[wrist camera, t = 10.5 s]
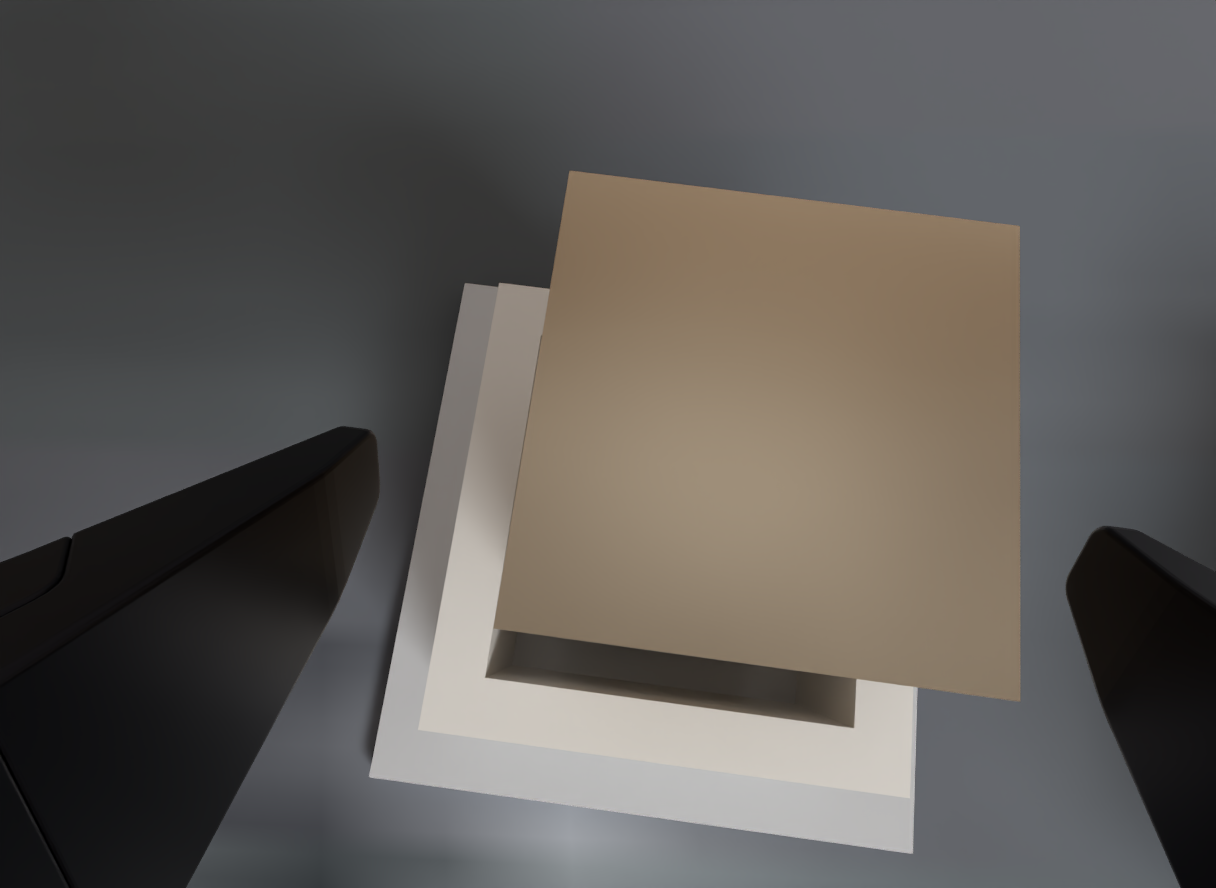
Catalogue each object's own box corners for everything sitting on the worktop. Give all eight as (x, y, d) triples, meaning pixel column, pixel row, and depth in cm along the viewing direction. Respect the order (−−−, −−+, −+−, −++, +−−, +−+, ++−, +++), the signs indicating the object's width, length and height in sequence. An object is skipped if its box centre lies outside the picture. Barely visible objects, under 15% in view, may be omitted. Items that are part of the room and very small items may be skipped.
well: (903, 846, 16) (1013, 928, 12) (375, 772, 17) (294, 826, 12) (918, 347, 19) (1012, 266, 15) (468, 291, 19) (429, 195, 15)
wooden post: (756, 654, 17) (1026, 707, 6) (559, 627, 17) (486, 633, 6) (772, 461, 18) (1025, 222, 7) (586, 437, 18) (566, 165, 7)
